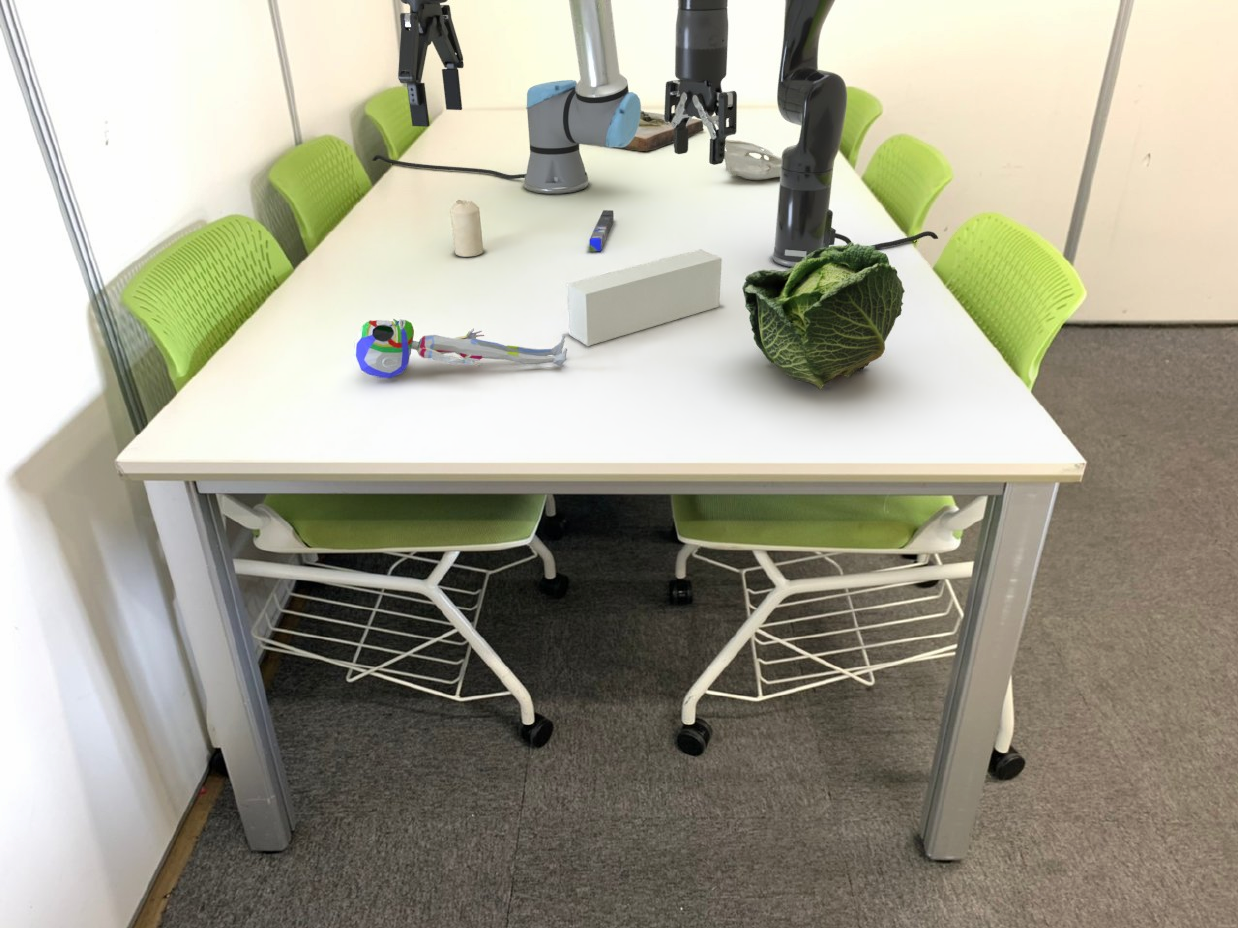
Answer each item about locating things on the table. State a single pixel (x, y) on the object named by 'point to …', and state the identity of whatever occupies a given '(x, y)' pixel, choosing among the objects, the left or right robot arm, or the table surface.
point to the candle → (466, 228)
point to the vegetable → (825, 311)
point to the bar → (643, 296)
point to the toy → (435, 349)
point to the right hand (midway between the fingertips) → (698, 158)
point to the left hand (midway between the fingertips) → (438, 117)
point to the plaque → (657, 132)
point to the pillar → (601, 230)
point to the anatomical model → (750, 161)
